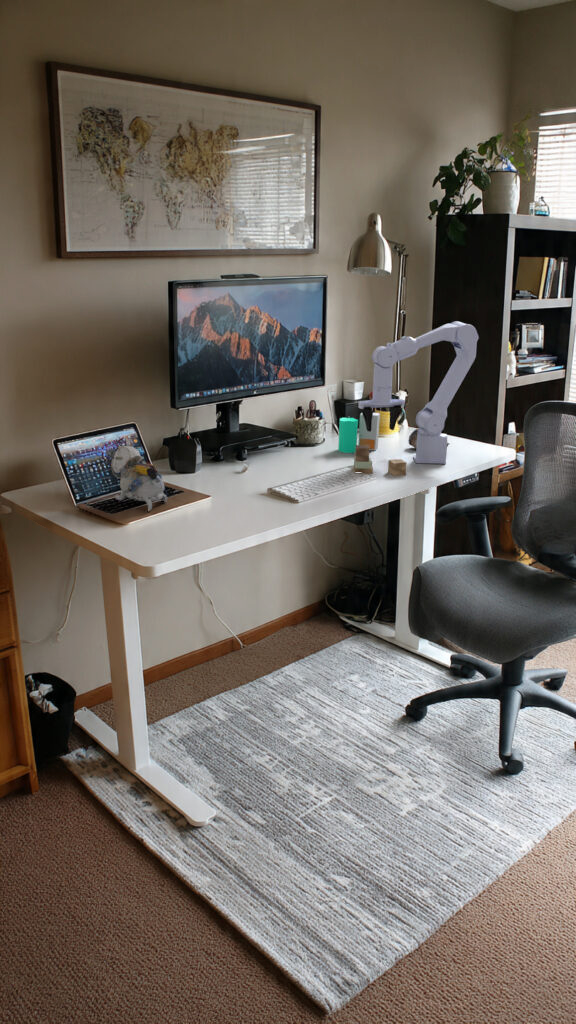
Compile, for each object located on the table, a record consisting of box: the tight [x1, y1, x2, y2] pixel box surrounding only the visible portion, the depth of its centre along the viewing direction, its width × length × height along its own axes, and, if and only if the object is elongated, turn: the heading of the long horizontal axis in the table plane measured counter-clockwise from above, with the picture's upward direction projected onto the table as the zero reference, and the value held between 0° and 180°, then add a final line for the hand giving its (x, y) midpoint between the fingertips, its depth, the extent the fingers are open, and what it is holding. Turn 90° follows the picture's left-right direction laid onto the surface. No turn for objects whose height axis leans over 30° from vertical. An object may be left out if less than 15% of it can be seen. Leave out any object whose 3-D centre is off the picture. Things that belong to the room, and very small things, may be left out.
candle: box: [337, 417, 359, 454], centre depth 274 cm, size 6×6×12 cm
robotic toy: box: [107, 445, 168, 511], centre depth 218 cm, size 13×17×15 cm
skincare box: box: [357, 412, 381, 452], centre depth 277 cm, size 6×4×12 cm
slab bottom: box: [353, 465, 374, 475], centre depth 254 cm, size 6×6×2 cm
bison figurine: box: [407, 428, 451, 449], centre depth 277 cm, size 12×7×10 cm
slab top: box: [353, 457, 373, 469], centre depth 253 cm, size 5×5×2 cm
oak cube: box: [387, 458, 408, 477], centre depth 251 cm, size 4×4×4 cm
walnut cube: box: [354, 444, 370, 462], centre depth 252 cm, size 4×4×4 cm
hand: (380, 430), depth 260 cm, fingers open, 7 cm apart
